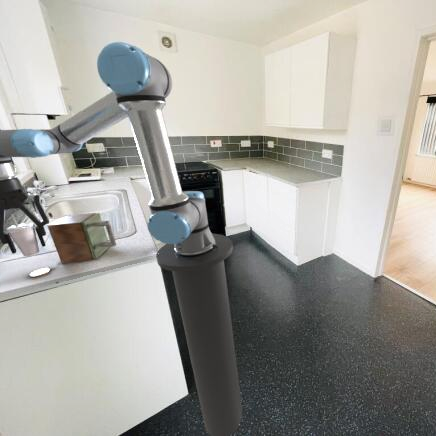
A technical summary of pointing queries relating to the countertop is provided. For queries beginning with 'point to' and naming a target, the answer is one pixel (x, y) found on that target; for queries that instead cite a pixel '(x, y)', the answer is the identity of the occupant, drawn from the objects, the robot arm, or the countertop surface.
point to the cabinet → (71, 238)
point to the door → (98, 235)
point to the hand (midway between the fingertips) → (29, 248)
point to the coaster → (40, 272)
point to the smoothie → (24, 237)
